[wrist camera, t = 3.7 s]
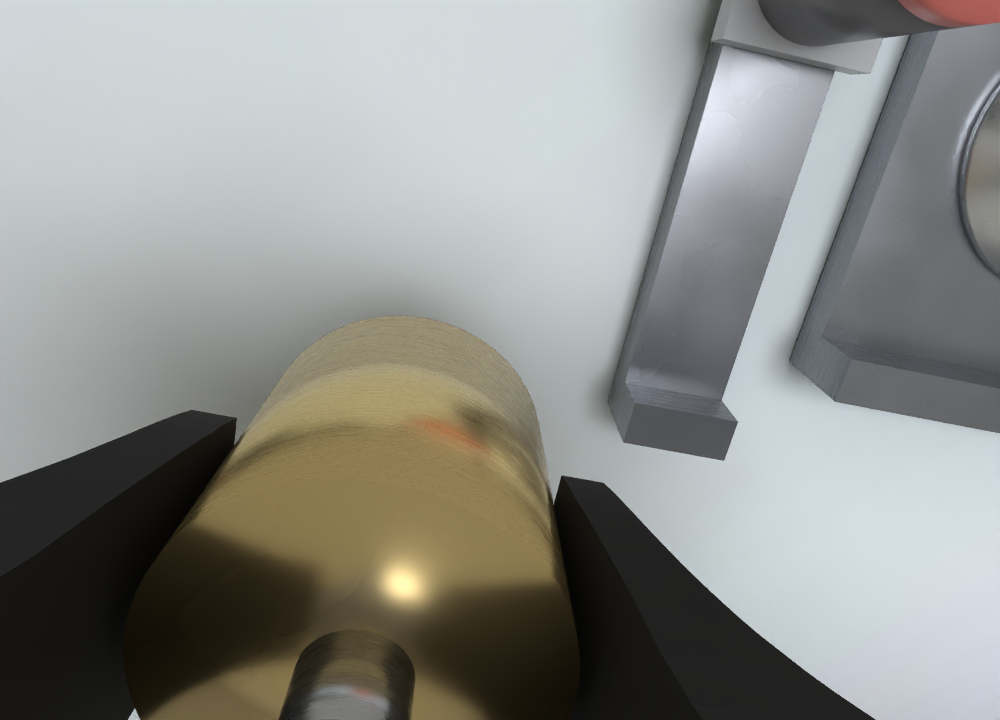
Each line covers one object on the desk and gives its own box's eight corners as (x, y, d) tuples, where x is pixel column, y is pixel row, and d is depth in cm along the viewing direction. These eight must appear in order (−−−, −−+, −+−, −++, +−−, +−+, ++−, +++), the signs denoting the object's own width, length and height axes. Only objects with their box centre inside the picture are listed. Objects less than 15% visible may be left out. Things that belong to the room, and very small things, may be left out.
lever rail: (697, 419, 19) (723, 460, 16) (607, 402, 18) (623, 442, 16) (894, -169, 14) (964, -213, 12) (779, -200, 14) (830, -251, 12)
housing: (509, 578, 13) (534, 981, 7) (254, 539, 12) (55, 934, 7) (568, 344, 11) (662, 611, 5) (280, 291, 11) (51, 517, 5)
